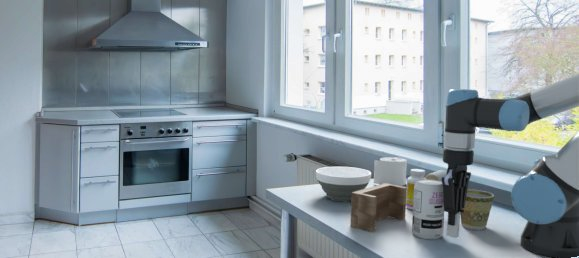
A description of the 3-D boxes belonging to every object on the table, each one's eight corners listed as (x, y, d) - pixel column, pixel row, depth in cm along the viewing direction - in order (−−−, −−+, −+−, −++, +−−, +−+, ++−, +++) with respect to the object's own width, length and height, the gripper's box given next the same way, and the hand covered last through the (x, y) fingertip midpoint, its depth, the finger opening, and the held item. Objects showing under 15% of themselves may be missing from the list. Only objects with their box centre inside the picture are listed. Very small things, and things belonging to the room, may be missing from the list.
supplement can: (419, 228, 143) (422, 177, 141) (447, 235, 137) (450, 182, 136) (406, 235, 136) (409, 182, 135) (435, 242, 131) (438, 186, 130)
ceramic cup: (478, 234, 139) (481, 199, 138) (448, 224, 147) (450, 191, 146) (504, 226, 147) (506, 193, 145) (474, 218, 155) (476, 186, 153)
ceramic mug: (421, 190, 190) (423, 170, 189) (434, 187, 195) (435, 168, 194) (445, 196, 182) (447, 176, 181) (458, 193, 187) (459, 173, 186)
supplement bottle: (426, 211, 161) (429, 172, 159) (405, 210, 162) (407, 171, 160) (425, 206, 167) (427, 168, 166) (405, 205, 168) (407, 167, 167)
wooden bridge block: (405, 219, 152) (406, 187, 150) (372, 232, 138) (373, 197, 137) (384, 214, 157) (385, 183, 156) (350, 226, 144) (351, 192, 142)
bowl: (312, 191, 186) (313, 166, 184) (364, 191, 186) (365, 166, 185) (317, 204, 166) (318, 177, 165) (375, 205, 167) (376, 177, 166)
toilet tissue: (410, 183, 201) (411, 159, 200) (395, 188, 193) (396, 163, 191) (387, 179, 209) (388, 156, 207) (372, 184, 200) (373, 159, 199)
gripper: (455, 144, 136) (450, 227, 139) (433, 149, 127) (427, 238, 130) (482, 147, 131) (476, 234, 134) (461, 152, 122) (455, 245, 125)
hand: (452, 235), depth 132 cm, fingers closed
